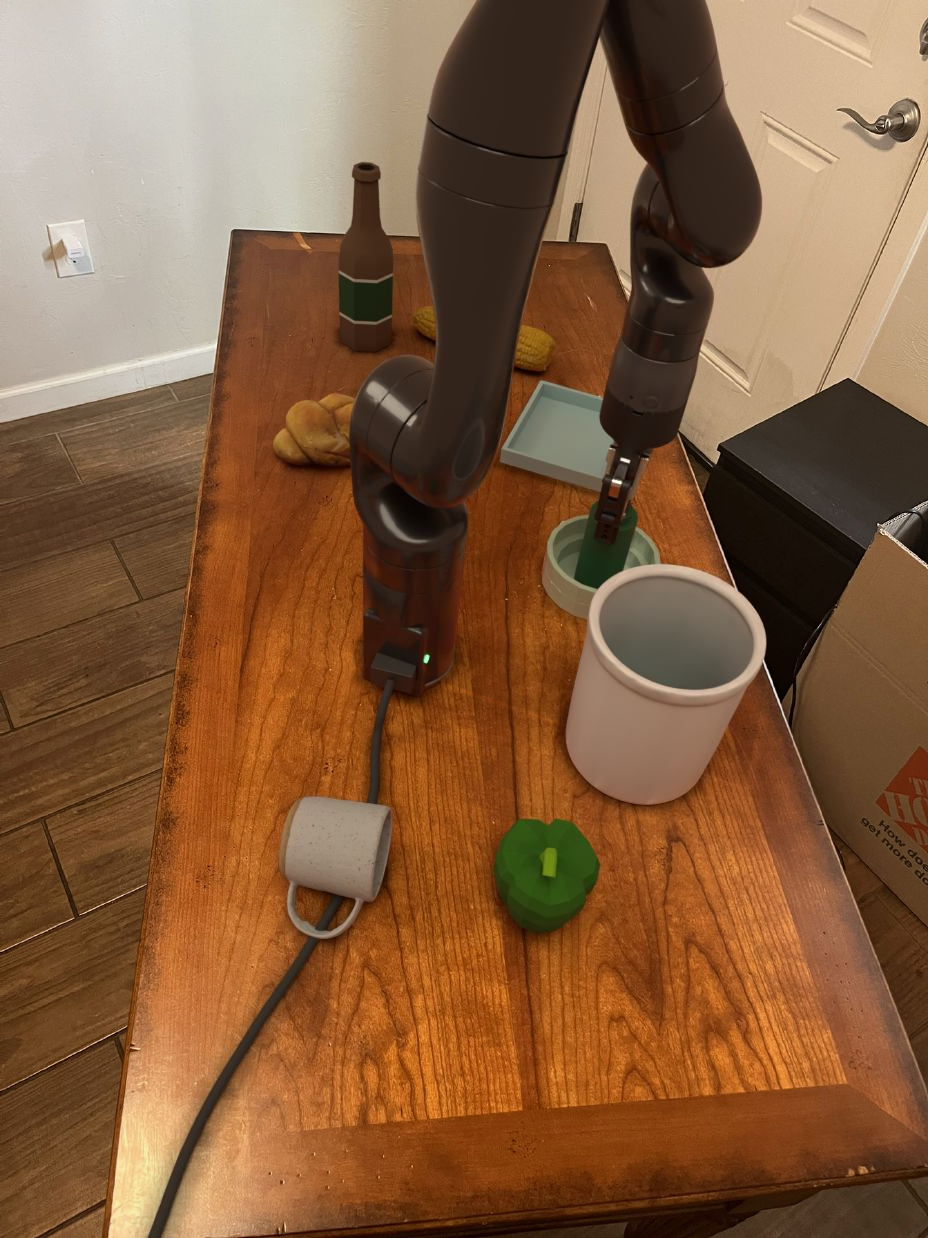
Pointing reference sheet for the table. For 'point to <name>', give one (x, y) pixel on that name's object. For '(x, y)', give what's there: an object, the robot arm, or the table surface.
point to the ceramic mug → (334, 852)
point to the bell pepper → (544, 873)
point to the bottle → (604, 550)
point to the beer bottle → (366, 269)
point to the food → (530, 350)
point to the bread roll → (317, 432)
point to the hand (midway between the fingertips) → (612, 519)
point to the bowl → (565, 557)
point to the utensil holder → (659, 680)
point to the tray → (560, 436)
